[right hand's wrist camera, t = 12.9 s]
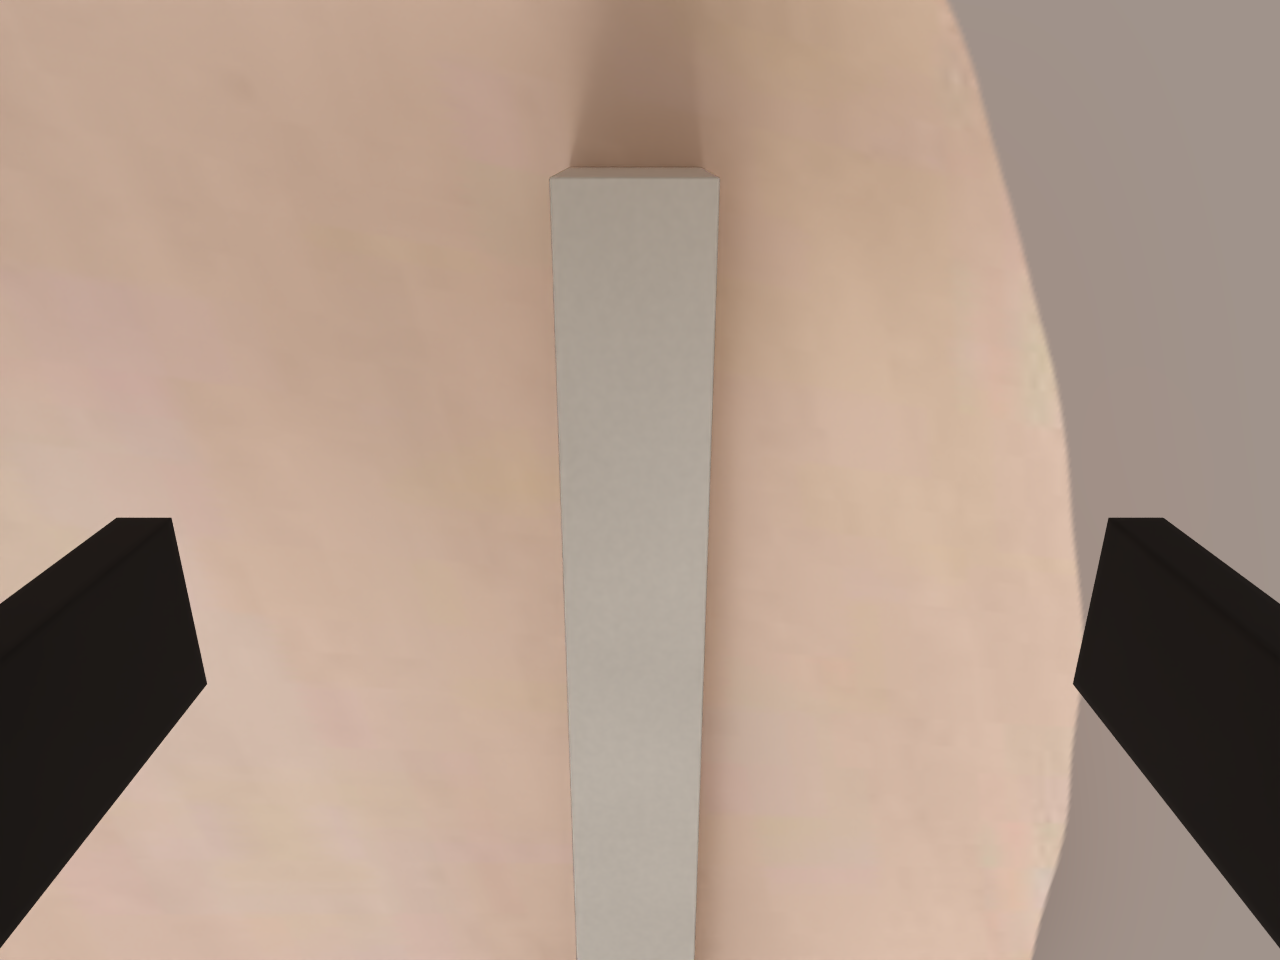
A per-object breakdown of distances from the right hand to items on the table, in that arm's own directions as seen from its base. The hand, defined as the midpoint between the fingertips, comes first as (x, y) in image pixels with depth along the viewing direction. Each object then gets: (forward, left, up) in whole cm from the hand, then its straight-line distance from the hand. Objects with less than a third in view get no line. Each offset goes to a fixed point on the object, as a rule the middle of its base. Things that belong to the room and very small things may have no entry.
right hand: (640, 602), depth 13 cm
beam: (+35, +7, -23) cm, 43 cm away
